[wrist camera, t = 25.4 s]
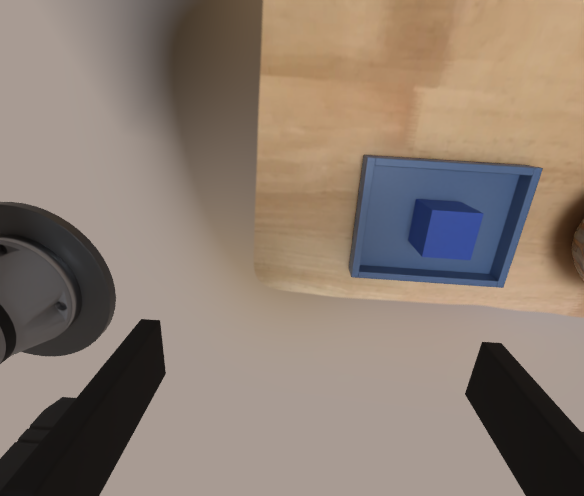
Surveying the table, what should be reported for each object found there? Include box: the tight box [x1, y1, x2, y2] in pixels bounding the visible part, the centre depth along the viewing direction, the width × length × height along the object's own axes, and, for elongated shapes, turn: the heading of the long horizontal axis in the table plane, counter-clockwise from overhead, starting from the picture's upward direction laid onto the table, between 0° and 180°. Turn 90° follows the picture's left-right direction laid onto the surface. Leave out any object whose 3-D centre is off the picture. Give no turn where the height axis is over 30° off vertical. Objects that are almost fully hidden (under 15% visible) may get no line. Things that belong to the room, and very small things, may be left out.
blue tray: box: [349, 155, 543, 288], centre depth 36 cm, size 18×14×3 cm
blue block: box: [408, 199, 484, 260], centre depth 35 cm, size 5×5×5 cm
